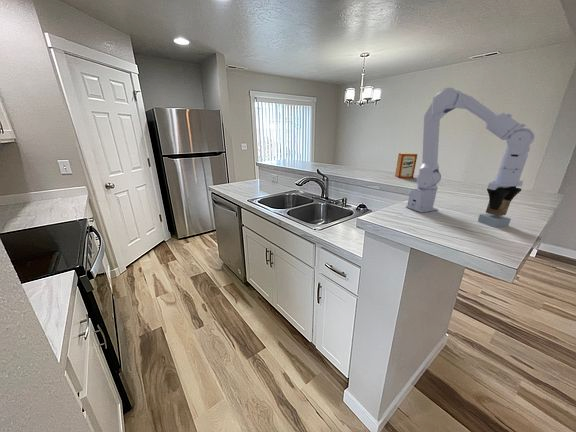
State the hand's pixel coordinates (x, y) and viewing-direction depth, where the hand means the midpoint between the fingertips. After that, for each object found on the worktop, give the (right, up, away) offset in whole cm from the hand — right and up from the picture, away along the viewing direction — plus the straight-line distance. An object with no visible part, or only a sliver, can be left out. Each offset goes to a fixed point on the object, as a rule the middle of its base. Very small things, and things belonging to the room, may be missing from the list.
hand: (497, 208), depth 81 cm
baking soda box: (+8, +24, +81) cm, 85 cm away
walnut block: (0, -2, +1) cm, 2 cm away
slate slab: (0, -6, +2) cm, 6 cm away
